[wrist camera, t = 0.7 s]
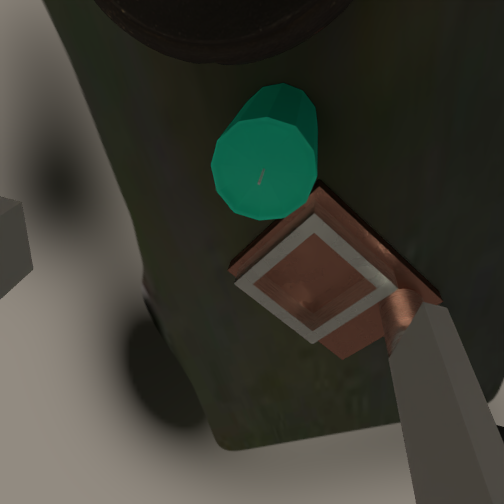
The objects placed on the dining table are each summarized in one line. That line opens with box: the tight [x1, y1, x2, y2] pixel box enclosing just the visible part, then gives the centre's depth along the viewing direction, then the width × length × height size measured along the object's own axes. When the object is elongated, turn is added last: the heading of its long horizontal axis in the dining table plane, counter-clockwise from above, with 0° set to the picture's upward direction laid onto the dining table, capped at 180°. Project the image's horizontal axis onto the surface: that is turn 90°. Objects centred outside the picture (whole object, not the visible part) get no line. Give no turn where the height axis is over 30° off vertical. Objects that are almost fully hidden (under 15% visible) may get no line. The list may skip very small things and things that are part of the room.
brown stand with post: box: [228, 179, 443, 360], centre depth 31 cm, size 12×16×14 cm
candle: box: [211, 83, 318, 220], centre depth 25 cm, size 6×6×12 cm
